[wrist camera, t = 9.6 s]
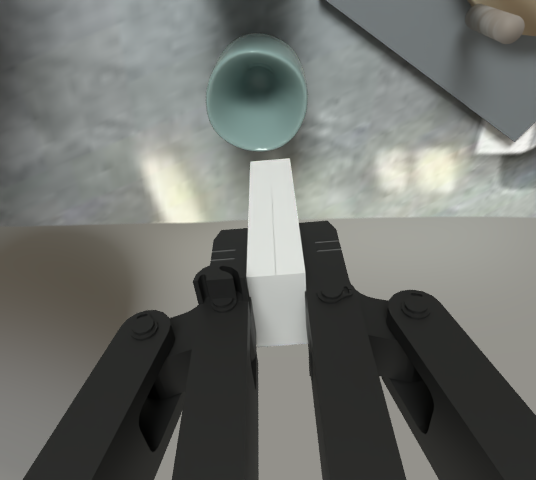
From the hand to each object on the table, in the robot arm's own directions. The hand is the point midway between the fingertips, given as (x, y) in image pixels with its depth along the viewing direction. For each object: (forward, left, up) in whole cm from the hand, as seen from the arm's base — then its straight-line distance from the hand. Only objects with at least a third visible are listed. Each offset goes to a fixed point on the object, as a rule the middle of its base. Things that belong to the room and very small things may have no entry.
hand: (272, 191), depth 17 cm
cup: (0, -2, -27) cm, 27 cm away
